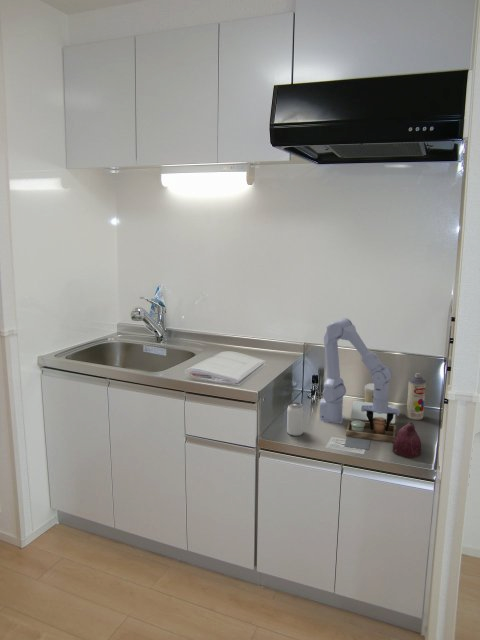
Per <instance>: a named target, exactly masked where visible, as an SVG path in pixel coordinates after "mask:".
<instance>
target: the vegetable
mask: <svg viewBox="0 0 480 640" xmlns="http://www.w3.org/2000/svg"><path fill="white" fill-rule="evenodd" d="M392 443H393V445H392V453H393V454H395V456H399V457H402V458H407V459H414V458H418V457H420V456H421V454H422V443H421V439H420V437H419V435H418V433H417V431H416V428H415V424H414V423H413V422H411V421H410V422H408V423H406V424H405V425H403V426H402V427H401V428H400V429H398V431H397V432H396V434H395V440H394V442H392Z"/></svg>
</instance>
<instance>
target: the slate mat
mask: <svg viewBox="0 0 480 640" xmlns="http://www.w3.org/2000/svg"><path fill="white" fill-rule="evenodd" d="M370 443H371V439H365V438H357V437H350V436H346V439H345V442H344V447H345V448H353V449H360V450H367V451H368V450H370Z"/></svg>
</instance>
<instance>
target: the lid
mask: <svg viewBox="0 0 480 640" xmlns="http://www.w3.org/2000/svg"><path fill="white" fill-rule="evenodd" d="M362 405H373V403H369V402H365V401H361V400H360V401H358V400H353V402H352V408H351V414H350V420H356V421H364V422H369V420H368V417H367V415H366V413H367V411H364V412H362V411H361V407H362ZM388 407H390V408H394V409H397V405H394V404H388ZM375 417H382V418H385V419H386V423H387V414H385V413H382V414H378V413H376V412H373V418H375ZM386 423H385V424H386ZM395 424H396V415H394V416H393V419H392V421H391V422H390V424H389V425H395Z"/></svg>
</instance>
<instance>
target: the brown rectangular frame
mask: <svg viewBox="0 0 480 640" xmlns="http://www.w3.org/2000/svg"><path fill="white" fill-rule="evenodd" d="M352 421H357V420H356V419H349V420H348V422H347V426H346V429H345V436H346V437H351V438H359V439H366V440H374V441H380V442H381V441H382V442H388V443H389V442H390V443H394V440H395V437H396V434H397V432H396V429H397V425H395V424H389V427H388V430H387V432H386V423H385V434H383V435H381V434H375V433H374V432H373V430H371V426H370V422H369V421H365V420H361V421H362V422H364V423H365V426H364V432H357V431H352V425H351V422H352ZM373 429H374V422H373Z"/></svg>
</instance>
